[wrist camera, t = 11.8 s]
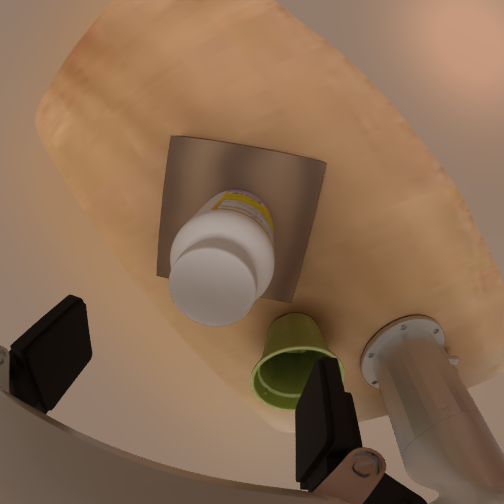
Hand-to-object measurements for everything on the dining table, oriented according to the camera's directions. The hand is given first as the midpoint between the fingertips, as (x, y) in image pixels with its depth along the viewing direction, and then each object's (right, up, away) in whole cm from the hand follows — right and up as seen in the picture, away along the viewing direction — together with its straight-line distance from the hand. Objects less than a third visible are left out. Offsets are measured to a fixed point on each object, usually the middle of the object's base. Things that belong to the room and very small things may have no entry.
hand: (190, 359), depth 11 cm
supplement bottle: (+1, +7, +17) cm, 18 cm away
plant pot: (+7, -6, +25) cm, 26 cm away
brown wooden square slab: (+1, +8, +20) cm, 22 cm away
